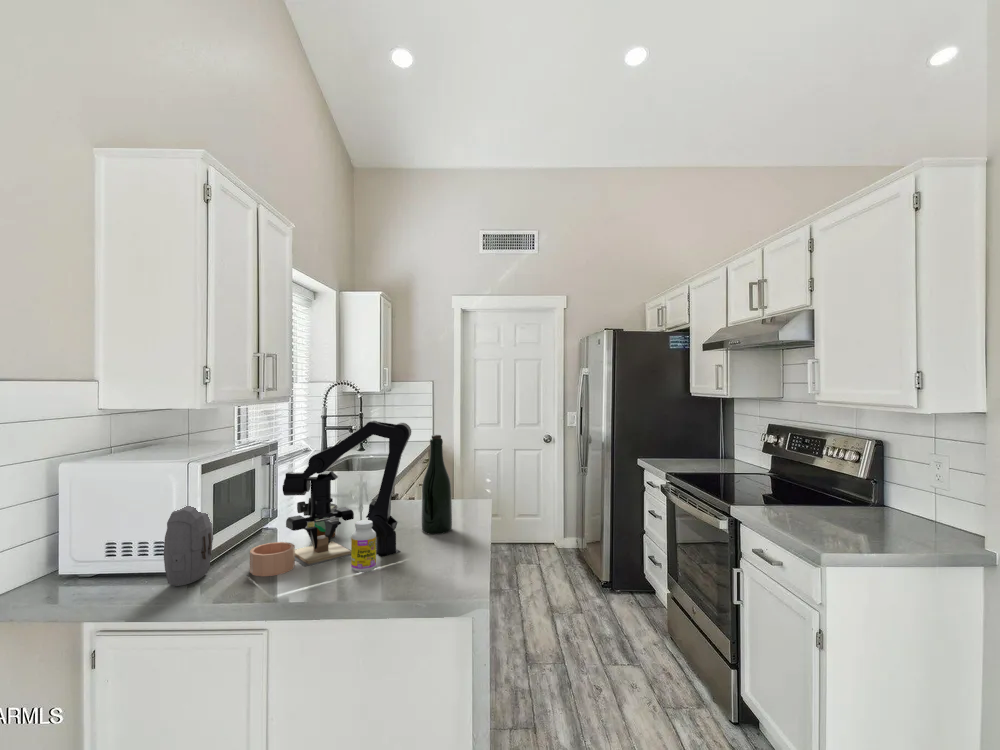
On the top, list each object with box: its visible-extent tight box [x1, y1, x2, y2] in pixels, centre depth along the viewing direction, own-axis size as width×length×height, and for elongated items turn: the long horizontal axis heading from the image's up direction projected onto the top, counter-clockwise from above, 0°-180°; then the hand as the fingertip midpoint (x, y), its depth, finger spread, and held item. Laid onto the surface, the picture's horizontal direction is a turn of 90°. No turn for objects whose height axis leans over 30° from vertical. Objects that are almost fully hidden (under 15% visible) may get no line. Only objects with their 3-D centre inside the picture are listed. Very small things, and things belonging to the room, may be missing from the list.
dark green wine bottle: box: [421, 434, 453, 535], centre depth 181 cm, size 10×10×33 cm
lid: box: [295, 535, 351, 564], centre depth 157 cm, size 13×13×5 cm
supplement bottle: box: [350, 519, 377, 573], centre depth 145 cm, size 7×7×13 cm
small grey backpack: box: [163, 505, 214, 587], centre depth 137 cm, size 15×8×20 cm, turn 3°
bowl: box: [249, 541, 296, 577], centre depth 144 cm, size 11×11×6 cm
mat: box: [295, 541, 351, 568], centre depth 157 cm, size 16×16×1 cm
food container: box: [309, 503, 339, 538], centre depth 174 cm, size 12×6×10 cm, turn 168°
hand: (320, 547), depth 157 cm, fingers closed on lid, 3 cm apart
